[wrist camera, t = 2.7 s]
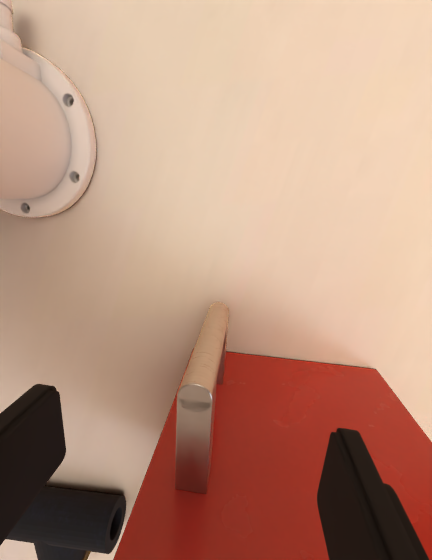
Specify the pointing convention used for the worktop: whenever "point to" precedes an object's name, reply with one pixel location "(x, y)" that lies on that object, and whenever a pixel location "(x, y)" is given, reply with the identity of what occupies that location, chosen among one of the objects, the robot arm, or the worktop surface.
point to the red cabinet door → (266, 456)
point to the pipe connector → (71, 523)
